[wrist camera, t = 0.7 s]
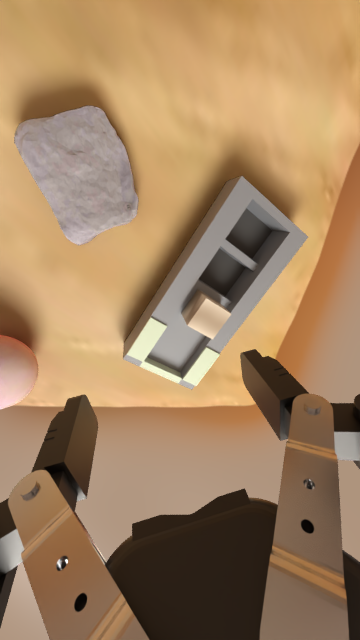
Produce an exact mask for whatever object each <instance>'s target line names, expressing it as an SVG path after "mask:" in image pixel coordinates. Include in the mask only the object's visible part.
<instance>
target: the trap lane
mask: <svg viewBox="0 0 360 640" xmlns="http://www.w3.org/2000/svg"><path fill="white" fill-rule="evenodd" d="M307 238H308V236H307V235H306V234H305V233H303V232H302V231H301V230H300V229H299V228H298V227H297V226H296V225H295V224H294V223H293V222H292V221H290V220H289V219H288V218H287V217H286V216H285V215H284V214H283V213H282V212H281V211H280V210H278V209H277V208H276V207H275V206H274V205H273V204H272V203H271V202H270V201H269V200H268V199H267V198H265V197H264V196H263V195H262V194H261V193H260V192H259V191H258V190H257V189H256V188H255V187H254V186H252V185H251V184H250V183H249V182H248V181H247V180H246V179H245V178H244V177H243V176H240V177H237V178H234V179H232V180H229V181H227V182H226V184H225V185H224V187H223V188H222V190H221V191H220V193H219V195H218V196H217V198H216V199H215V201H214V202H213V204H212V206H211V207H210V209H209V210H208V212H207V213H206V215H205V217H204V218H203V220H202V221H201V223H200V224H199V226H198V228H197V229H196V231H195V232H194V234H193V235H192V237H191V239H190V240H189V242H188V243H187V245H186V246H185V248H184V250H183V251H182V253H181V254H180V256H179V257H178V259H177V261H176V262H175V264H174V265H173V267H172V268H171V270H170V272H169V273H168V275H167V276H166V278H165V279H164V281H163V283H162V284H161V286H160V287H159V289H158V290H157V292H156V294H155V295H154V297H153V298H152V300H151V301H150V303H149V305H148V306H147V308H146V309H145V311H144V312H143V314H142V316H141V317H140V319H139V320H138V322H137V323H136V325H135V327H134V328H133V330H132V331H131V333H130V334H129V336H128V338H127V339H126V341H125V342H124V351H123V359H124V360H126V361H128V362H130V363H133V364H135V365H137V366H140V367H142V368H144V369H146V370H149V371H151V372H153V373H155V374H158V375H160V376H162V377H164V378H167V379H169V380H171V381H173V382H176V383H178V384H180V385H182V386H185V387H187V388H189V389H193V388H194V386H197V384H198V383H199V382H200V380H201V379H202V378H203V376H204V375H205V374H206V372H207V371H208V370H209V369H210V367H211V366H212V365H213V363H214V362H215V361H216V359H217V358H218V357H219V355H220V354H219V353H220V352H221V351H222V350H223V348H224V347H225V346H226V344H227V343H228V342H229V340H230V339H231V338H232V336H233V335H234V334H235V332H236V331H237V330H238V329H239V327H240V326H241V325H242V323H243V322H244V321H245V319H246V318H247V317H248V315H249V314H250V313H251V311H252V310H253V309H254V308H255V306H256V305H257V304H258V302H259V301H260V300H261V298H262V297H263V296H264V294H265V293H266V292H267V290H268V289H269V288H270V287H271V285H272V284H273V283H274V281H275V280H276V279H277V277H278V276H279V275H280V273H281V272H282V271H283V269H284V268H285V267H286V266H287V264H288V263H289V262H290V260H291V259H292V258H293V256H294V255H295V254H296V252H297V251H298V250H299V248H300V247H301V246H302V245H303V243H304V242H305V241H306V239H307ZM197 289H199V290H200V291H202V292H203V293H205V294H206V295H208V296H210V297H211V298H213V299H214V300H216V301H217V302H219V303H221V304H222V305H223V306H224V307H225V308H226V309H227V310H228V311H229V312H230V313H231V316H230V317H229V318H228V320H227V321H226V322H225V324H224V325H223V326H222V328H221V329H220V330H219V332H218V333H217V334H216V336H215V337H214V338H213V340H212V339H211V338H209V337H207V336H205V335H203V334H202V333H200V332H198V331H196V330H194V329H193V328H191V327H189V326H187V324H186V322H185V320H184V318H183V316H182V314H181V313H182V311H183V310H184V309H185V307H186V306H187V304H188V303H189V301H190V300H191V298H192V297H193V295H194V294H195V292H196V291H197Z"/></svg>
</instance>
